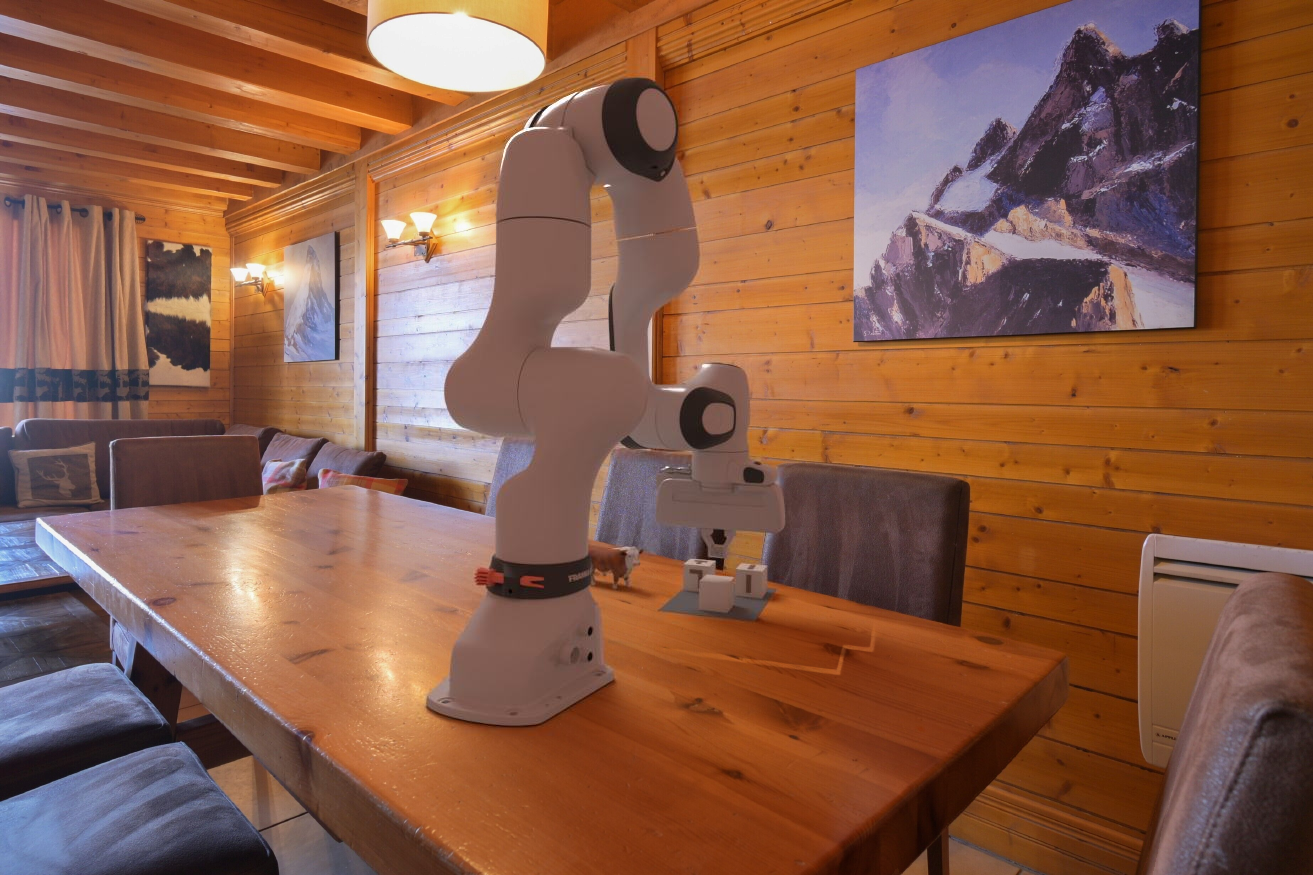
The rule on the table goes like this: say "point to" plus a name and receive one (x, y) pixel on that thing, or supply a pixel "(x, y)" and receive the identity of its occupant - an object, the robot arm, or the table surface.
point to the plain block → (716, 593)
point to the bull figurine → (614, 562)
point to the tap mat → (740, 611)
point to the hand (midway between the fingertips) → (718, 557)
